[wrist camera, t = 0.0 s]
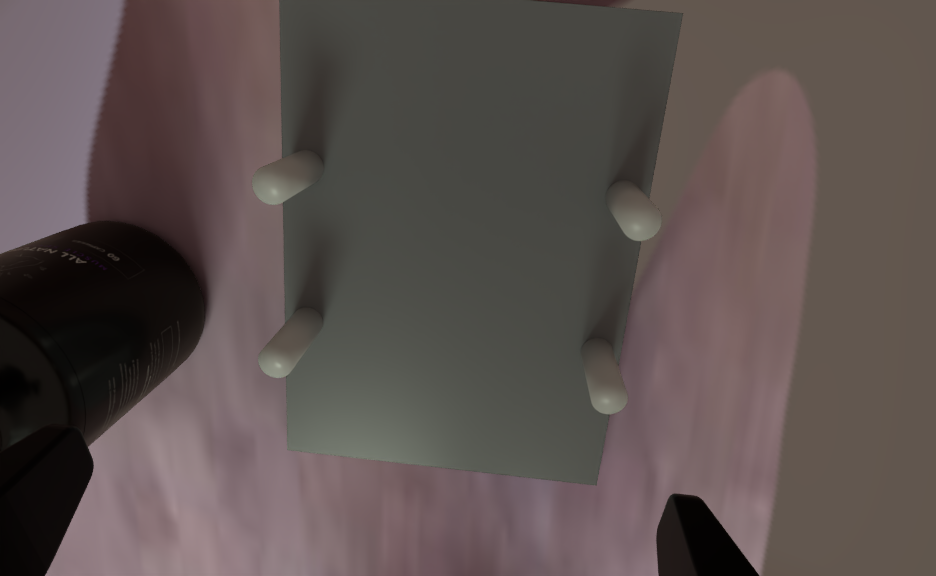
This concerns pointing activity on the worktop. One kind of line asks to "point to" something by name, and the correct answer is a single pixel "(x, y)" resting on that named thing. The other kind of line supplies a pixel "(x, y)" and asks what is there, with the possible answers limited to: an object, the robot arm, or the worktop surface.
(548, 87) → the pin tray
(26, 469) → the robot arm
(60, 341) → the supplement bottle
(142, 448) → the worktop surface
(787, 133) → the worktop surface
